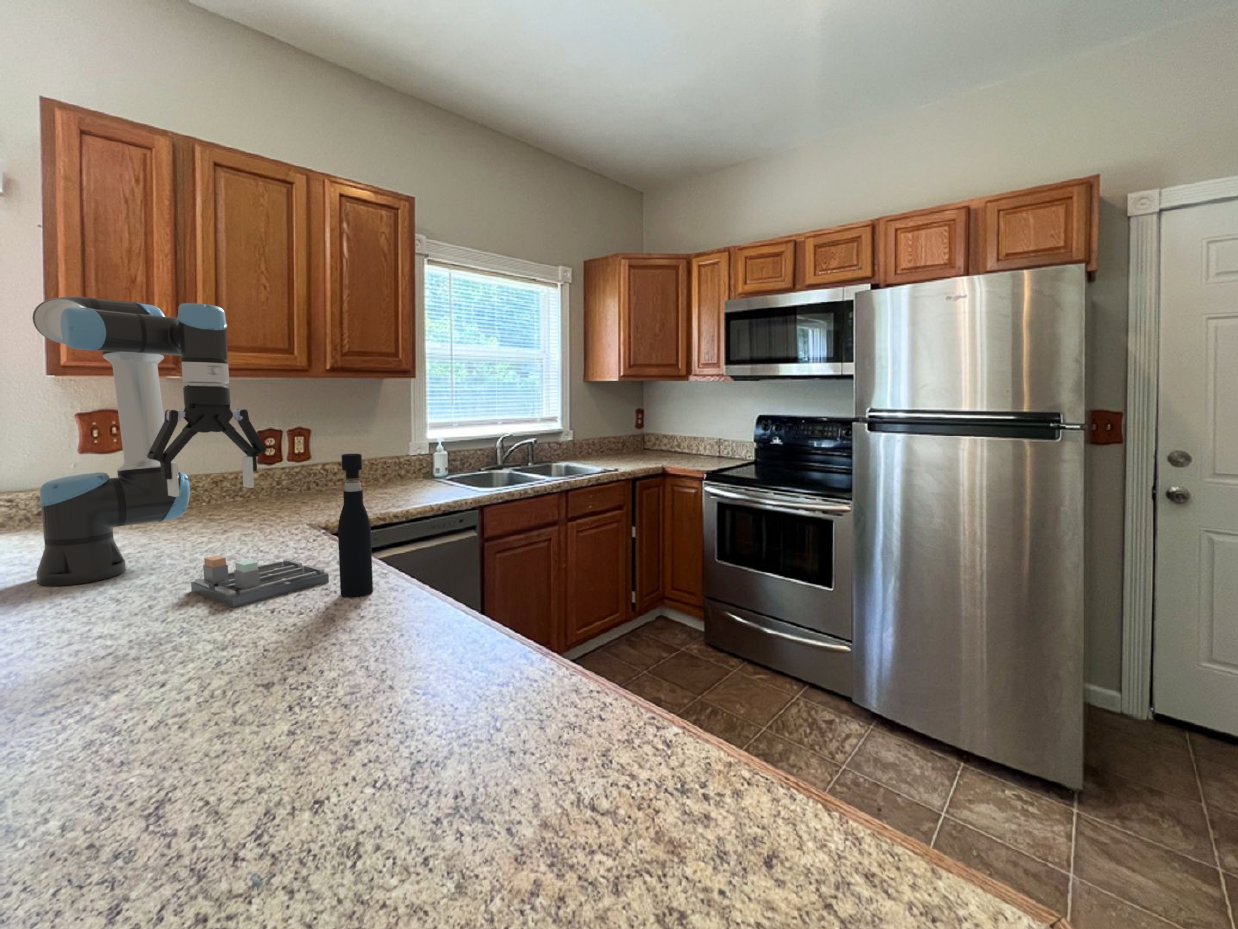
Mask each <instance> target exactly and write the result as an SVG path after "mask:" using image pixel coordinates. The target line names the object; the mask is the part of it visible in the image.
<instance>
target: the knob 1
mask: <svg viewBox="0 0 1238 929" xmlns="http://www.w3.org/2000/svg"><path fill="white" fill-rule="evenodd" d="M203 559H204V560H203V562H204V564H203V565H202V567H203V569H202V571H203V579H204V580H206V581H209V582H211V583H214V585H215V584H217V583H218V582H222V581H227V580H229V577H228V573H229V564H227V557H224V556H222V555H218V554H217V555H212V556H208V557H207V556H206V557H204V558H203Z"/></svg>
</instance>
